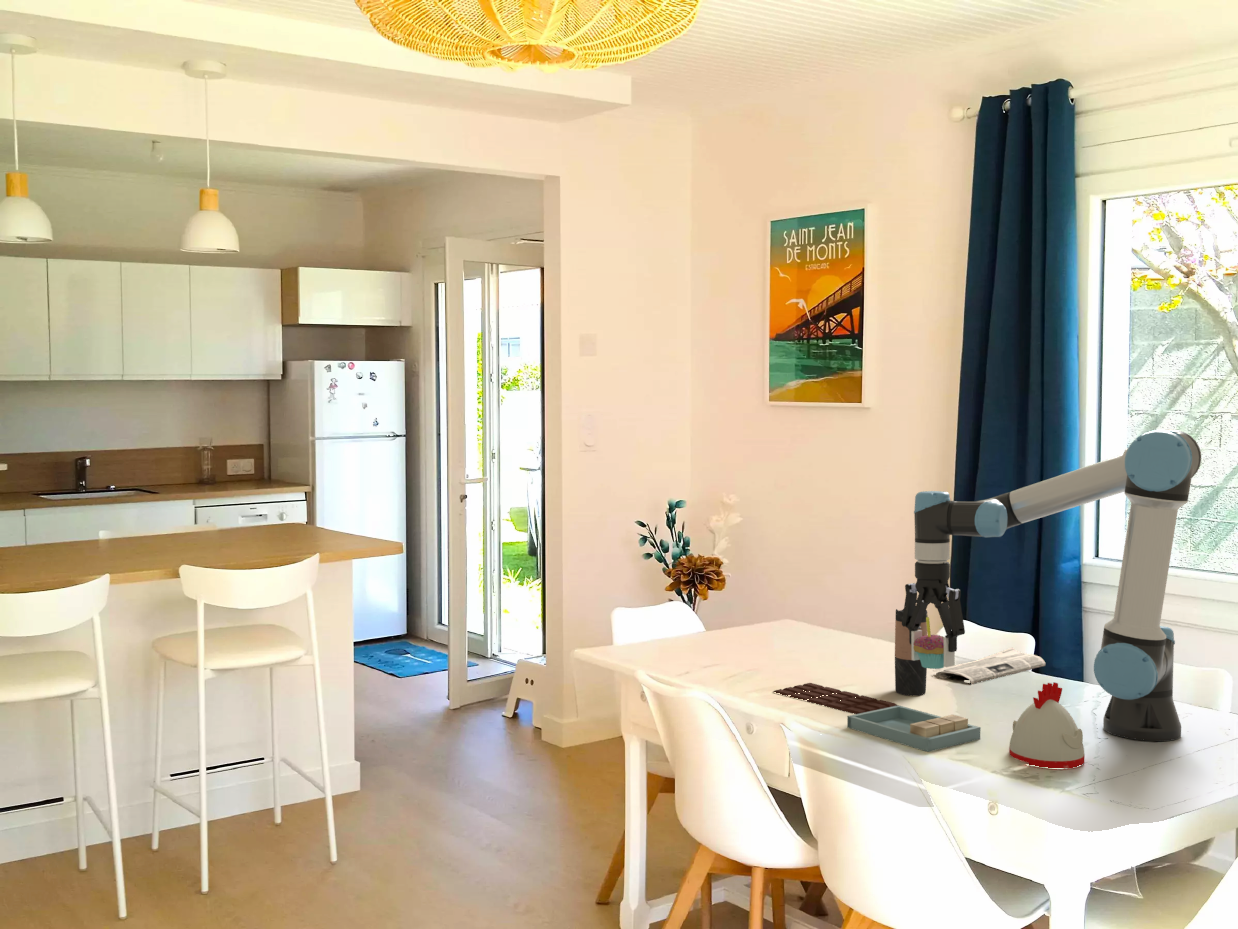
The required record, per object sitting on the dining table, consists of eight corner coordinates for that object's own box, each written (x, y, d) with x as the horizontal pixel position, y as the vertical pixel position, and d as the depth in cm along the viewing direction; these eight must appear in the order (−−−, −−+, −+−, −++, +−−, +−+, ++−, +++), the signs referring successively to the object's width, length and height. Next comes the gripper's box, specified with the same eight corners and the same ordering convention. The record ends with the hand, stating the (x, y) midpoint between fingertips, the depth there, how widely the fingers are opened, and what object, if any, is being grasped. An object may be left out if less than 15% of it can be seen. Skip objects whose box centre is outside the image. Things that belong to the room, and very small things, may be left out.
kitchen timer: (1098, 761, 231) (1100, 685, 231) (1056, 774, 223) (1057, 695, 223) (1037, 745, 243) (1038, 672, 242) (994, 756, 235) (995, 681, 234)
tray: (980, 741, 245) (980, 727, 245) (928, 754, 236) (928, 739, 236) (898, 718, 263) (898, 705, 263) (847, 730, 254) (847, 716, 254)
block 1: (938, 745, 240) (938, 725, 240) (925, 748, 238) (925, 728, 238) (923, 740, 244) (923, 721, 243) (910, 743, 241) (910, 724, 241)
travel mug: (927, 696, 283) (928, 613, 282) (894, 695, 284) (895, 612, 283) (926, 689, 290) (926, 608, 289) (893, 687, 292) (894, 607, 291)
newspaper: (970, 686, 295) (971, 672, 295) (928, 677, 305) (929, 664, 304) (1048, 666, 317) (1048, 653, 317) (1006, 659, 327) (1007, 646, 327)
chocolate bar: (771, 694, 287) (771, 690, 287) (809, 686, 295) (809, 682, 295) (859, 717, 266) (859, 712, 266) (897, 707, 274) (897, 703, 274)
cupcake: (938, 672, 258) (937, 617, 257) (905, 666, 264) (904, 613, 264) (960, 666, 263) (960, 612, 263) (927, 661, 270) (927, 608, 269)
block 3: (967, 737, 246) (967, 718, 245) (954, 740, 243) (955, 721, 243) (952, 733, 249) (952, 714, 249) (939, 736, 247) (939, 717, 246)
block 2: (953, 741, 243) (953, 722, 243) (940, 744, 241) (940, 725, 240) (937, 736, 246) (938, 717, 246) (924, 740, 244) (925, 720, 244)
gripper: (982, 564, 256) (983, 668, 257) (906, 555, 273) (907, 653, 274) (959, 567, 252) (960, 673, 253) (884, 558, 269) (885, 657, 270)
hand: (932, 662), depth 264 cm, fingers closed on cupcake, 8 cm apart
